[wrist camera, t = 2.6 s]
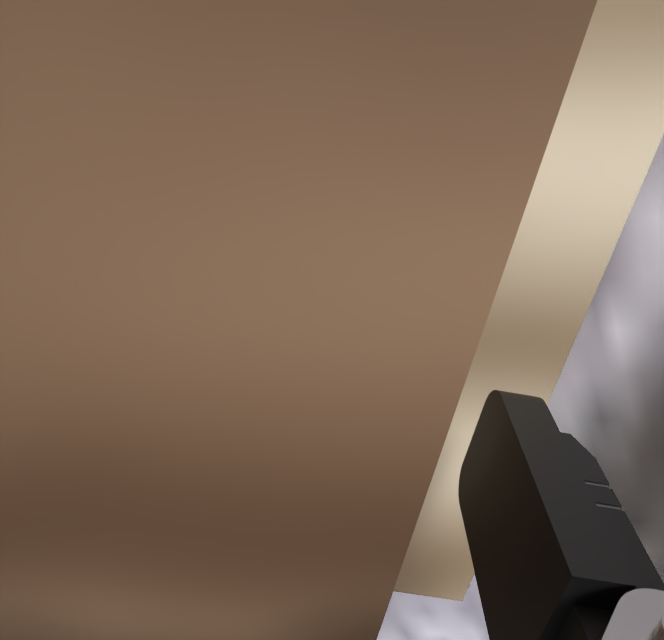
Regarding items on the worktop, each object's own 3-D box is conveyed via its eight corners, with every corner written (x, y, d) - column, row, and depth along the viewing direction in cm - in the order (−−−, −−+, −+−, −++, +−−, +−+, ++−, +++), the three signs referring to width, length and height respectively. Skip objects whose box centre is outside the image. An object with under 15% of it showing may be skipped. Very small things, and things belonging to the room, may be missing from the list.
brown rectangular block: (131, -98, 8) (-107, -195, 4) (480, -23, 9) (610, -39, 4) (115, 520, 14) (9, 759, 10) (329, 551, 14) (320, 798, 10)
